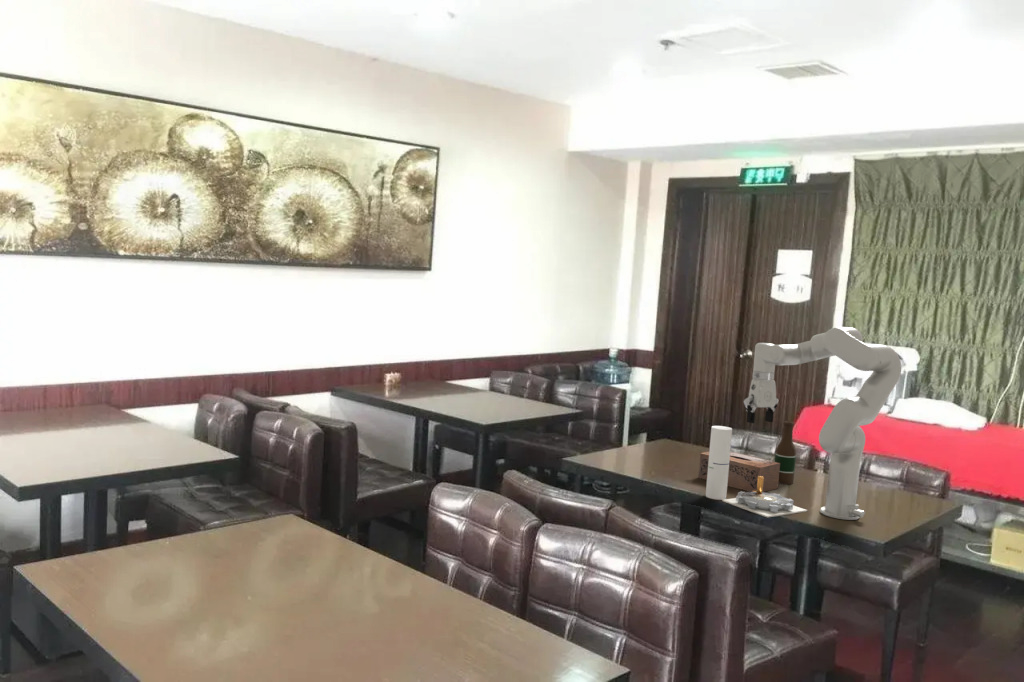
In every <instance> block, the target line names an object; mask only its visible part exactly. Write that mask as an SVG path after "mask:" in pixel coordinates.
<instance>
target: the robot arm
mask: <svg viewBox="0 0 1024 682" xmlns="http://www.w3.org/2000/svg"><path fill="white" fill-rule="evenodd" d="M863 341H864V338H863V334H862V333H861V332H860V330H859V329H857V328H855V327H850V326H849V327H848V326H835V327H832V328H829V329H828V330H827V331H826V332H823V333H818V334H815V335H813V336H812V337H811V338H810V340H807V341H804V342H798V343H795V344H788V343H787V344H785V343H784V344H774V343H769V342H757V343H756V344H755V347H754V356H753V357H754V358H753V367H752V368H753V371H752V375H751V376H752V379H751V382H750V386H749V392H748V397H746V398H745V399H743V404H744V408H745V412H747V414H746V415H747V416H746V422H747V423H749V424H755V420H756V419H755V418H756V412H755V411H756V409H757V408H761V409H763V408H766V410H765V416H764V417H765V419H764V420H765V422H768V423H773V422H774V412H776V408H777V407H778V403H779V398H777V385H776V384H777V383H776V381H775V369H776V368H775V367H776V366H795V365H797V366H798V365H802V364H805V363H810V362H814V361H817V360H818V361H819V360H821V359H827V358H831V357H837V358H839V359H840V360H842V361H843V362H845V363H847V364H848V365H850V366H851V367H853V368H855V369H856V370H858V371H862V372H872V373H871V374H870V375H869V377H867V379H866V380H865V381H864V383H863V384H862V386H861V388H860V389H859V391H858V392H857V394H856V395H855V396H853V397H846V398H843V399H840V400H839V401H838V403H836V404H835V406H834V407H833V409H832V410H831V412H830V414H829V415H828V417H827V418H826V420H825V422H824V424H823V426H822V428H821V429H820V431H819V435H818V443H819V445H820V447H821V449H822V450H823V451H825V452H826V453H829V454H831V456H830V460H829V466H828V467H829V468H828V476H827V477H828V478H827V487H826V497H825V498H826V499H825V505H824V506H822V507H820V511H819V512H820V513H821V514H822V515H824V516H827V517H830V518H833V519H839V520H844V521H856V520H859V519H860V518H863V517H864V516H865V514H866V511H865V510H862V509H860V508H859V507H860V505H859V504H858V503H857V497H858V488H859V487H858V486H859V478H860V477H859V476H860V470H861V469H860V468H861V462H862V456H863V452H864V449H865V445H866V434H865V432H864V430H863V428H862V426H866V425H867V426H868V425H870V424H872V423H873V422H874V421H875V420H876V419H877V416H878V415H879V414H880V412H881V410H882V408H883V407H884V406H885V404H886V402H887V400H888V399H889V396H890V394H891V393H892V391H893V390H894V388H895V387H896V385H897V383H898V382H899V379H900V377H901V374H902V362H901V359H900V356H899V355H898V353H897V351H895V350H894V349H893V348H892V347H890V346H887V345H884V344H865V343H864V342H863Z"/></svg>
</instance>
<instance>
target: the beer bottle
mask: <svg viewBox="0 0 1024 682" xmlns="http://www.w3.org/2000/svg"><path fill="white" fill-rule="evenodd" d="M783 425H784V426H783V432H782V436H781V437H782V438H781V441H780V442H779V443H778V445H777V447H776V449H775V454H774V462H777V463H780V471H779V481H778V484H781V485H792V484H793V483H794V479H795V471H796V469H795V468H796V462H797V449H796V446H795V445H794V442H793V435H794V434H793V429H794V428H793V427H794V425H795V424H794V422H793V421H790V420H785V421H784V422H783Z"/></svg>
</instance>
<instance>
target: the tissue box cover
mask: <svg viewBox="0 0 1024 682" xmlns="http://www.w3.org/2000/svg"><path fill="white" fill-rule="evenodd" d="M708 462H709V451H705V452H700V458H699V470H698V479H701V478H702V480H706V481H707V474H708ZM779 471H780V463H777V462H775V461H773V460H772V461H771V460H768V459H764V458H760V457H756V456H755V457H754V456H752V455H751V456H750V455H747V454H743V453H739V452H734V451H730V460H729V471H728V483H727V487H731V486H732V488H735V489H739V490H742V489H743V491H746V490H747V491H746V492H752V491H757V480H758V476H763V477H764V480H763V490H762V492H764V493H767V492H769V491H773V490H777V489H778V488H779V483H778V481H779Z"/></svg>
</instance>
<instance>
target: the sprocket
mask: <svg viewBox="0 0 1024 682" xmlns="http://www.w3.org/2000/svg"><path fill="white" fill-rule="evenodd" d="M763 480H764V477H763V476H758V480H757V491H752V492H750V491H746V492H745V491H742V490H741V491H738V492H737V495H736V497H735V498H736V501H737V502H738V503H743V504H745V505H747V506H748V507H749V508H753V509H756V508H758V509H763V510H769V511H773V512H778V511H779V510H788V511H790V510H793V505H794V501H795V500H793V499H792V498H787V497H785V496H782V495H781V494H778V493H775V492H774V493H773V492H772V493H770V492H762V490H763Z"/></svg>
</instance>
